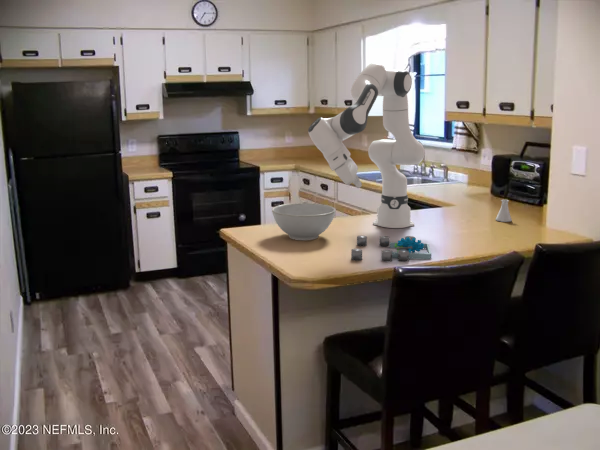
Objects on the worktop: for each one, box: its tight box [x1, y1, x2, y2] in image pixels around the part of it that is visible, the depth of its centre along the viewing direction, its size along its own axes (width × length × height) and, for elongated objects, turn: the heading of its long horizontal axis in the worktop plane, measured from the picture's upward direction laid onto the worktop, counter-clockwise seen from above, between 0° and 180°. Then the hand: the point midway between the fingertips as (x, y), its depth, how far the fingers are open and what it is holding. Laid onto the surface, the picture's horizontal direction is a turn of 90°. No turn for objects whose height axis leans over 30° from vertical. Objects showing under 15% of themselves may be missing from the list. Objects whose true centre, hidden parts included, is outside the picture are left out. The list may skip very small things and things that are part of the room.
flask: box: [494, 199, 513, 223], centre depth 292 cm, size 7×7×10 cm
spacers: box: [350, 234, 416, 263], centre depth 237 cm, size 26×24×4 cm
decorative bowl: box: [271, 202, 337, 241], centre depth 260 cm, size 27×27×12 cm
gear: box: [394, 236, 424, 253], centre depth 233 cm, size 11×6×10 cm
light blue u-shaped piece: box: [389, 241, 432, 260], centre depth 236 cm, size 16×15×2 cm
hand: (360, 186), depth 235 cm, fingers closed
